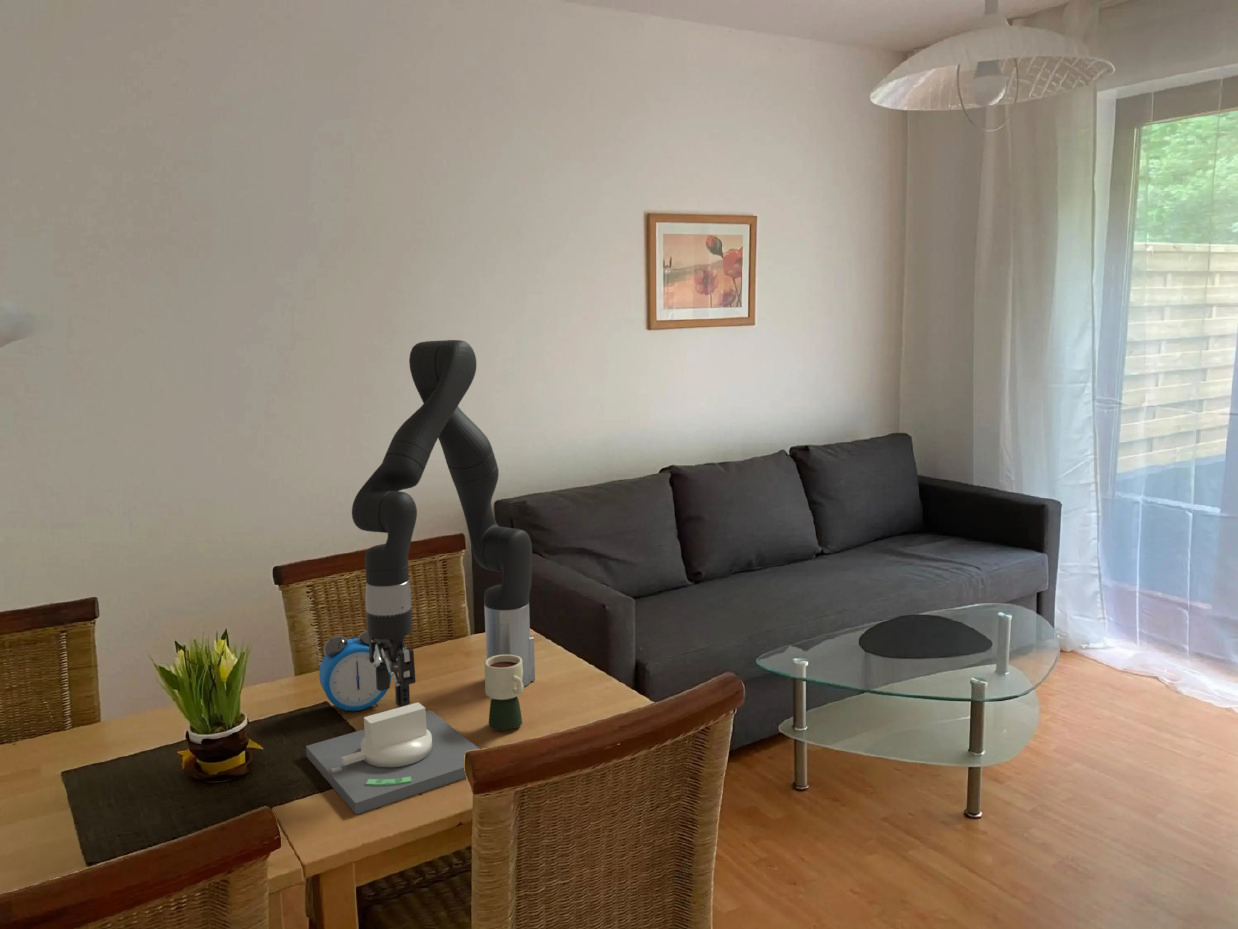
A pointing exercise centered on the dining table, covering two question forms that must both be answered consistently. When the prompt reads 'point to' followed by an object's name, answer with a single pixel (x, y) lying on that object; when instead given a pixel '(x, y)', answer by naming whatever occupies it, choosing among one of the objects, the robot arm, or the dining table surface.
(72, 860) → the dining table surface
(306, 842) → the dining table surface
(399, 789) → the dial board
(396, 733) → the dial
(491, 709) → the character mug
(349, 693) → the alarm clock
